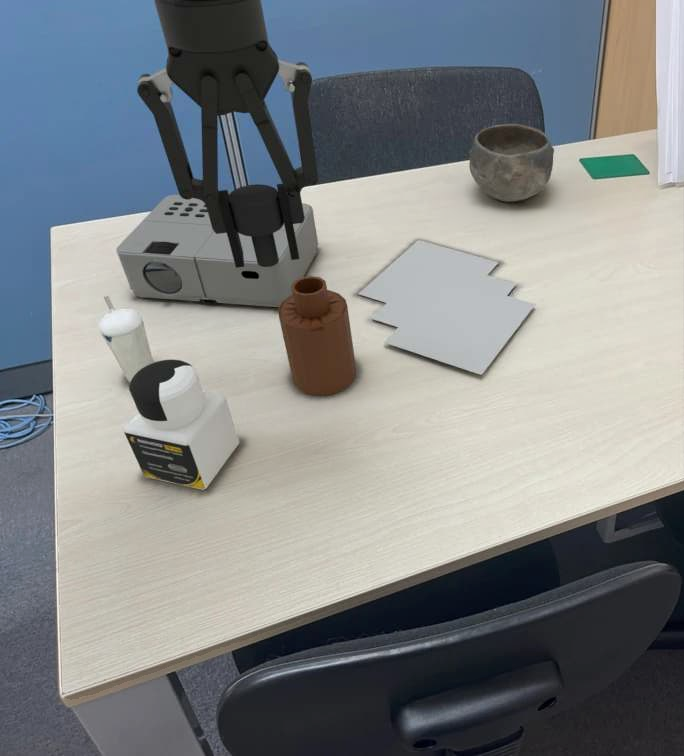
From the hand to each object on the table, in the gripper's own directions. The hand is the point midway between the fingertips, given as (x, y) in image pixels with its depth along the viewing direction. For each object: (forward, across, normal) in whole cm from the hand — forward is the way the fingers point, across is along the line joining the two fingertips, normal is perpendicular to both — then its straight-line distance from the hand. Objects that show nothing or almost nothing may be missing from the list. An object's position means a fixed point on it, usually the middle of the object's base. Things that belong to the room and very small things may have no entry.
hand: (267, 255), depth 68 cm
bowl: (+21, -40, -46) cm, 64 cm away
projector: (+21, +7, -31) cm, 38 cm away
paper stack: (+21, -21, -16) cm, 34 cm away
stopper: (+1, 0, 0) cm, 1 cm away
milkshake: (+20, +18, -11) cm, 29 cm away
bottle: (+20, -3, -5) cm, 21 cm away
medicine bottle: (+20, +12, +5) cm, 24 cm away
